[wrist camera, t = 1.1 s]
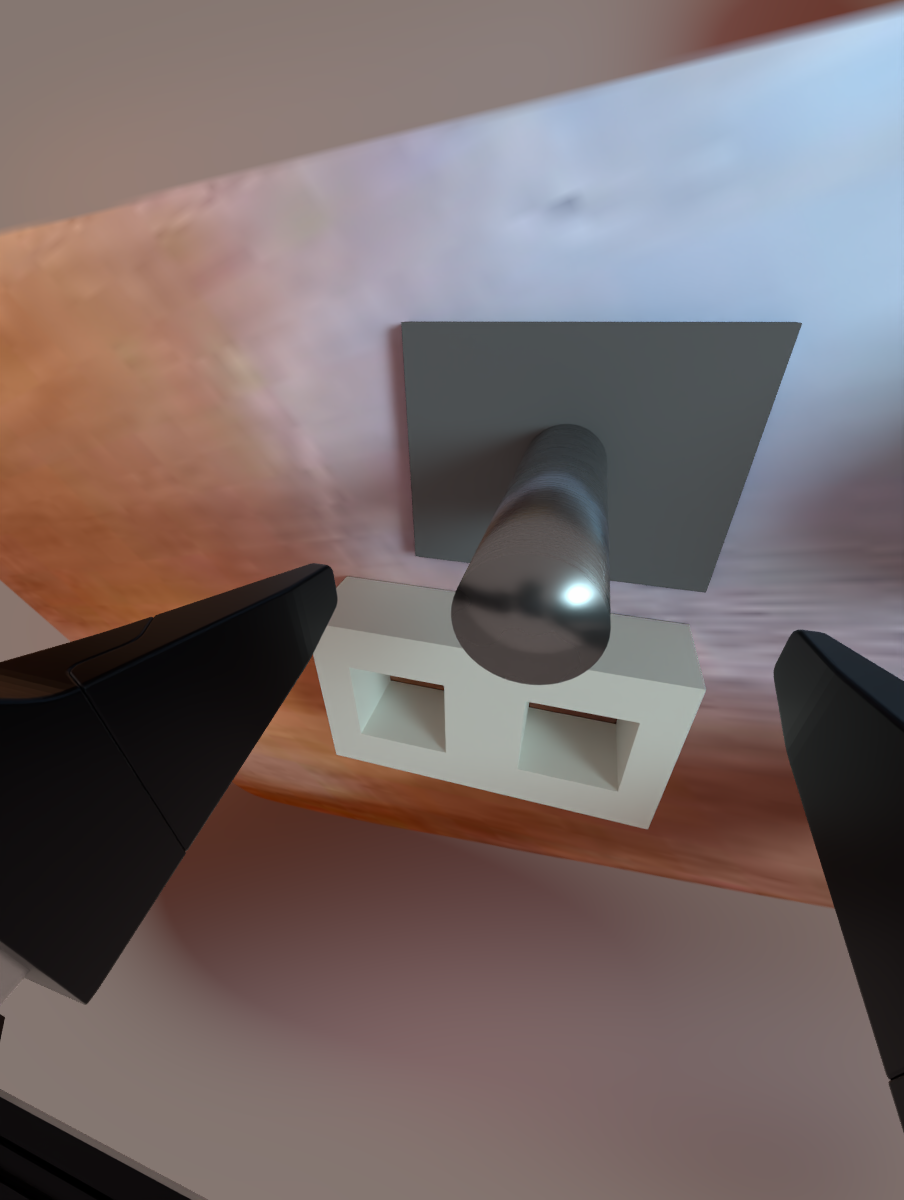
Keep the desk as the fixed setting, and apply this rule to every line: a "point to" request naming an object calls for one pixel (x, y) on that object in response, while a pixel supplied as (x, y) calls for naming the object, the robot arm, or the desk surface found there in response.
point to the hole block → (507, 706)
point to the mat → (593, 428)
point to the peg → (542, 566)
